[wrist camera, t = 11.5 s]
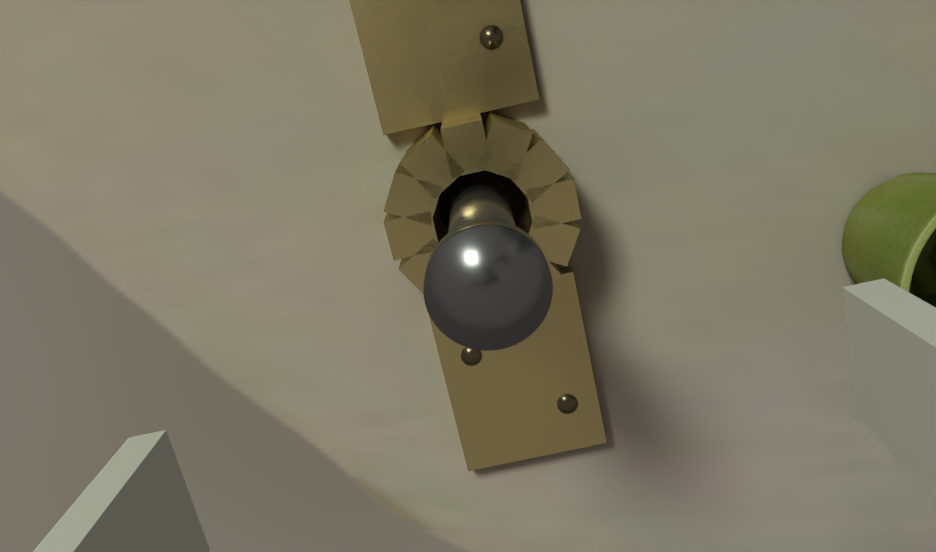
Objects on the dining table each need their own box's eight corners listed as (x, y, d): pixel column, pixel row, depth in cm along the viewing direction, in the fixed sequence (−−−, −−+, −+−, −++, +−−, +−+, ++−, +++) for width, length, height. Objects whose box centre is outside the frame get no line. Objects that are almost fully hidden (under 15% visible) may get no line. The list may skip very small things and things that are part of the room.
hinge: (320, -76, 34) (302, -91, 30) (507, -122, 33) (513, -143, 29) (458, 465, 41) (458, 508, 37) (613, 433, 40) (629, 474, 37)
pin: (429, 170, 37) (409, 242, 23) (510, 152, 36) (539, 213, 23) (448, 249, 38) (440, 362, 24) (527, 232, 37) (564, 335, 24)
